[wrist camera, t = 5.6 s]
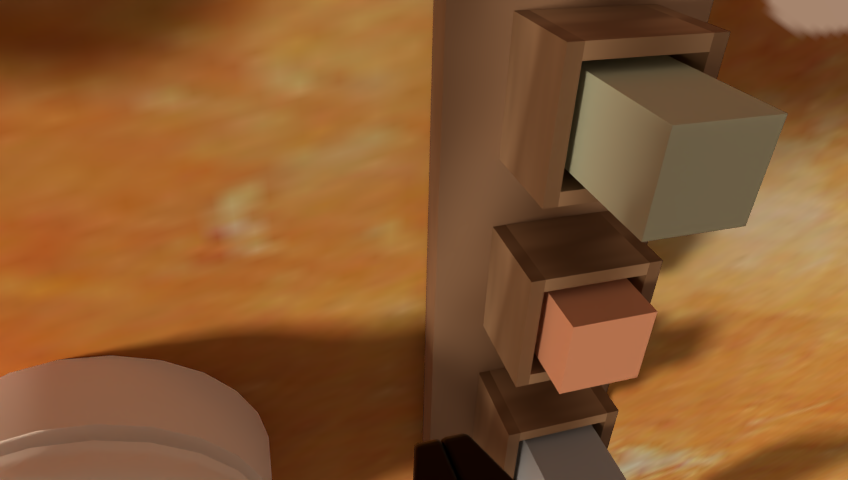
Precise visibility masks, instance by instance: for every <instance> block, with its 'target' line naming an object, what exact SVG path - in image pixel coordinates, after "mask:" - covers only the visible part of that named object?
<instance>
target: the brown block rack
mask: <svg viewBox="0 0 848 480" xmlns="http://www.w3.org/2000/svg"><path fill="white" fill-rule="evenodd" d="M713 1H714V0H434V7H433V47H432V88H431V128H430V168H429V208H428V248H427V288H426V329H425V369H424V409H423V442H425V441H429V440H433V439H438V440H440V441H441V439H442V438H444V437H447V436H451V435H456V434H460V433H465V434H467V435H469V436H470V437H471V438H472V439H473V440H474V441H475V442H476V443H477V444H478V445H479V446H480V447H481V448H482V449H483V450H484V451H485V452H486V453H487V454H488V455H489V456H490V457H491V458H492V459H493V460H494V461H495V462H496V463H497V464H498V465H499V466H500V467H501V468H502V469H503V470H504V471H505V472H506V473H507V474H508V475H509V476H510V477H511V478H512V479H513V480H515V479H514V471H515V465H516V458H517V452H518V446H519V441H522V440H527V439H531V438H535V437H540V436H544V435H548V434H553V433H557V432H561V431H566V430H570V429H574V428H579V427H583V426H587V425H592V426H593V428H594V429H595V431H596V432H597V434H598V436H599V437H600V439H601V440H602V442H603V444H604V445H605V447H606V448H608V445H609V441H610V438H611V434H612V431H613V428H614V424H615V421H616V418H617V414H618V409H617V408H616V406H615V405H614V403H613V402H612V400H611V399H610V398H609V396H608V395H607V390H608V386H609V383H608V384H604V385H599V386H594V387H590V388H585V389H580V390H576V391H571V392H566V393H562V394H559V392H558V391H557V389H556V387H555V386H554V384H553V382H552V381H551V379H550V377H549V376H548V374H547V373H546V371H545V369H544V368H543V366H542V364H541V363H540V361H539V359H538V358H537V356H536V354H535V353H534V349H535V343H536V337H537V331H538V325H539V319H540V313H541V307H542V301H543V295H544V292H548V291H554V290H560V289H565V288H571V287H577V286H583V285H589V284H595V283H601V282H607V281H613V280H618V279H624V278H627V279H628V280H629V281H630V282H631V284H632V285H633V286H634V287H635V288H636V289H637V290H638V291H639V292H640V293H641V294H642V295H643V297H644V298H645V299H646V300H647V301H648V302H649V303H651V299H652V296H653V292H654V289H655V286H656V282H657V279H658V275H659V272H660V269H661V265H662V262H663V260H662V259H661V258H660V257H659V256H658V255H656V254H655V253H654V252H653V251H652V250H651V249H650V248H649V247H648V246H647V243H648V241H646V242H641V241H640V240H639V239H638V238H637V237H636V236H635V235H634V234H633V233H632V232H631V231H630V230H628V229H627V228H626V227H625V226H624V225H623V224H622V223H621V222H620V221H619V220H618V219H617V218H616V217H615V216H614V215H613V214H612V213H611V212H610V211H609V210H608V209H607V208H606V207H605V206H604V205H602V204H601V203H600V202H599V201H598V200H597V199H596V198H595V197H594V196H593V195H592V194H591V193H590V192H589V191H588V190H587V189H586V188H585V187H584V186H583V185H582V184H581V183H580V182H579V181H577V180H576V179H575V178H574V177H573V176H572V175H571V174H570V173H569V172H568V171H567V170H566V169H565V162H566V156H567V149H568V143H569V137H570V131H571V125H572V119H573V113H574V107H575V101H576V95H577V89H578V83H579V77H580V71H581V65H582V61H588V60H602V59H616V58H630V57H644V56H658V55H668V56H670V57H672V58H674V59H676V60H678V61H680V62H682V63H684V64H686V65H688V66H690V67H692V68H694V69H697V70H699V71H701V72H703V73H705V74H707V75H709V76H711V77H713V78H715V79H717V76H718V73H719V69H720V66H721V62H722V59H723V56H724V52H725V49H726V46H727V42H728V39H729V35H730V31H727V30H725V29H722V28H719V27H717V26H714V25H711V24H709V23H708V19H709V15H710V12H711V8H712V4H713Z"/></svg>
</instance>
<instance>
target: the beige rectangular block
mask: <svg viewBox="0 0 848 480" xmlns="http://www.w3.org/2000/svg"><path fill="white" fill-rule="evenodd" d="M787 114H788V113H786V112H784V111H781V110H779V109H777V108H775V107H773V106H771V105H769V104H767V103H765V102H763V101H761V100H759V99H757V98H755V97H752V96H750V95H748V94H746V93H744V92H742V91H740V90H738V89H736V88H734V87H732V86H730V85H728V84H726V83H723V82H721V81H719V80H717V79H715V78H713V77H711V76H709V75H707V74H705V73H703V72H701V71H699V70H697V69H694V68H692V67H690V66H688V65H686V64H684V63H682V62H680V61H678V60H676V59H674V58H672V57H670V56H668V55H658V56H644V57H630V58H616V59H602V60H588V61H582V65H581V71H580V77H579V83H578V89H577V95H576V101H575V107H574V113H573V119H572V125H571V131H570V137H569V143H568V149H567V156H566V162H565V169H566V170H567V171H568V172H569V173H570V174H571V175H572V176H573V177H574V178H575V179H576V180H577V181H579V182H580V183H581V184H582V185H583V186H584V187H585V188H586V189H587V190H588V191H589V192H590V193H591V194H592V195H593V196H594V197H595V198H596V199H597V200H598V201H599V202H600V203H601V204H602V205H604V206H605V207H606V208H607V209H608V210H609V211H610V212H611V213H612V214H613V215H614V216H615V217H616V218H617V219H618V220H619V221H620V222H621V223H622V224H623V225H624V226H625V227H626V228H627V229H628V230H630V231H631V232H632V233H633V234H634V235H635V236H636V237H637V238H638V239H639V240H640V241H641V242H646V241H652V240H658V239H665V238H671V237H678V236H684V235H691V234H697V233H704V232H710V231H717V230H723V229H730V228H736V227H742V226H746V223H747V221H748V218H749V215H750V213H751V210H752V207H753V205H754V202H755V199H756V197H757V194H758V191H759V189H760V186H761V183H762V181H763V178H764V175H765V173H766V170H767V167H768V165H769V162H770V159H771V157H772V154H773V151H774V149H775V146H776V143H777V141H778V138H779V135H780V133H781V130H782V127H783V125H784V122H785V119H786V117H787Z"/></svg>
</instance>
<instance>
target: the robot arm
mask: <svg viewBox="0 0 848 480" xmlns="http://www.w3.org/2000/svg"><path fill="white" fill-rule="evenodd" d="M413 480H513V479H512V478H511V477H510V476H509V475H508V474H507V473H506V472H505V471H504V470H503V469H502V468H501V467H500V466H499V465H498V464H497V463H496V462H495V461H494V460H493V459H492V458H491V457H490V456H489V455H488V454H487V453H486V452H485V451H484V450H483V449H482V448H481V447H480V446H479V445H478V444H477V443H476V442H475V441H474V440H473V439H472V438H471V437H470V436H469V435H467V434H465V433H460V434H456V435H451V436H447V437H444V438H442V439H441V441H440V440H438V439H433V440H429V441H425V442H420V443H417V444H416V445H415V448H414V472H413Z"/></svg>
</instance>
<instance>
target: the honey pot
mask: <svg viewBox="0 0 848 480" xmlns="http://www.w3.org/2000/svg"><path fill="white" fill-rule="evenodd" d="M0 480H272V473H271V460H270V446H269V436H268V434H267V432H266V429H265V427H264V425H263V423H262V420H261V418H260V416H259V414H258V412H257V411H256V410H255V409H254V408H253V407H252V406H251V405H250V404H249V403H248V402H247V401H246V400H245V399H244V398H243V397H242V396H241V395H240V394H239V393H238V392H237V391H236V390H234V389H233V388H231V387H229V386H227V385H225V384H224V383H222V382H220V381H218V380H216V379H215V378H213V377H211V376H209V375H207V374H206V373H204V372H201V371H197V370H194V369H190V368H187V367H183V366H180V365H177V364H173V363H170V362H166V361H163V360H156V359H145V358H134V357H123V356H113V355H110V356H98V357H86V358H74V359H62V360H56V361H53V362H49V363H45V364H41V365H38V366H34V367H30V368H26V369H23V370H19V371H15V372H11V373H8V374H6V375H4V376H2V377H0Z"/></svg>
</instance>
